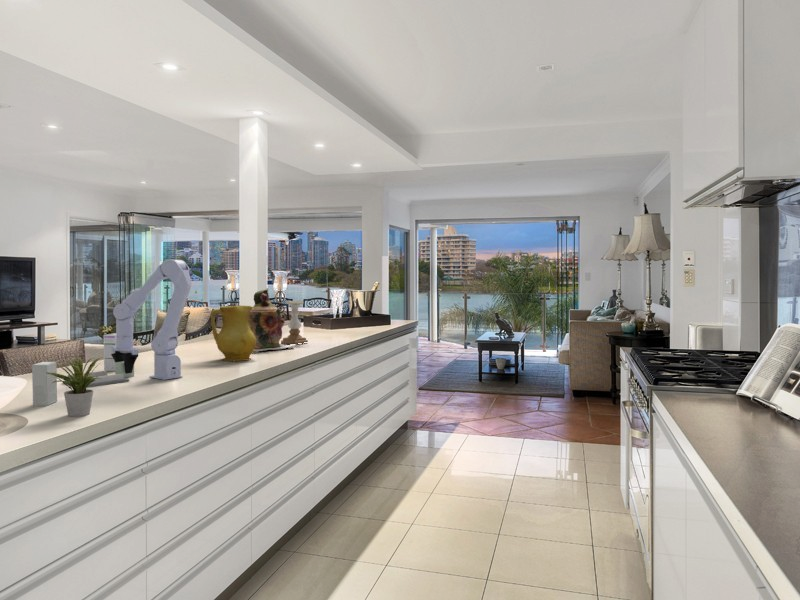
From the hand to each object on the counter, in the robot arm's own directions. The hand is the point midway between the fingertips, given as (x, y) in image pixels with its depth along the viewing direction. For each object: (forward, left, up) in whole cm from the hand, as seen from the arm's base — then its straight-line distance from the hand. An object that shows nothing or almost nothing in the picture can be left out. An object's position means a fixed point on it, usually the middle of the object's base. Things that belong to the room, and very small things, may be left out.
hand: (124, 372), depth 225 cm
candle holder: (+31, -121, -2) cm, 125 cm away
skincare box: (-27, +41, -2) cm, 49 cm away
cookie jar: (+27, -94, -2) cm, 98 cm away
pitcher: (+6, -57, -2) cm, 57 cm away
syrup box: (+17, -6, -2) cm, 18 cm away
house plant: (-47, +41, -2) cm, 62 cm away
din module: (0, 0, -2) cm, 2 cm away
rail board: (-4, +13, -2) cm, 14 cm away
